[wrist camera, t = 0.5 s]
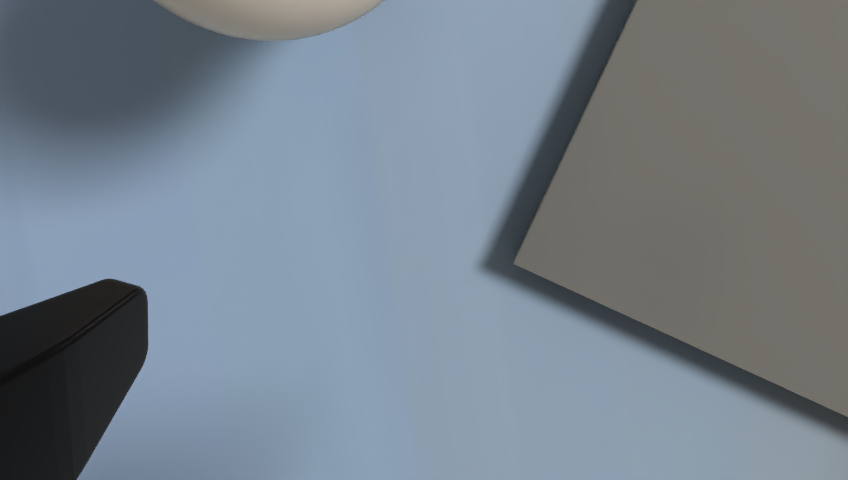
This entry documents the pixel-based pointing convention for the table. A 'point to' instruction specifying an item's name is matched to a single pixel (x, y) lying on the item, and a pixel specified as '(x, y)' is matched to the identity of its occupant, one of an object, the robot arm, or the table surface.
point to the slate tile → (715, 187)
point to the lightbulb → (270, 16)
